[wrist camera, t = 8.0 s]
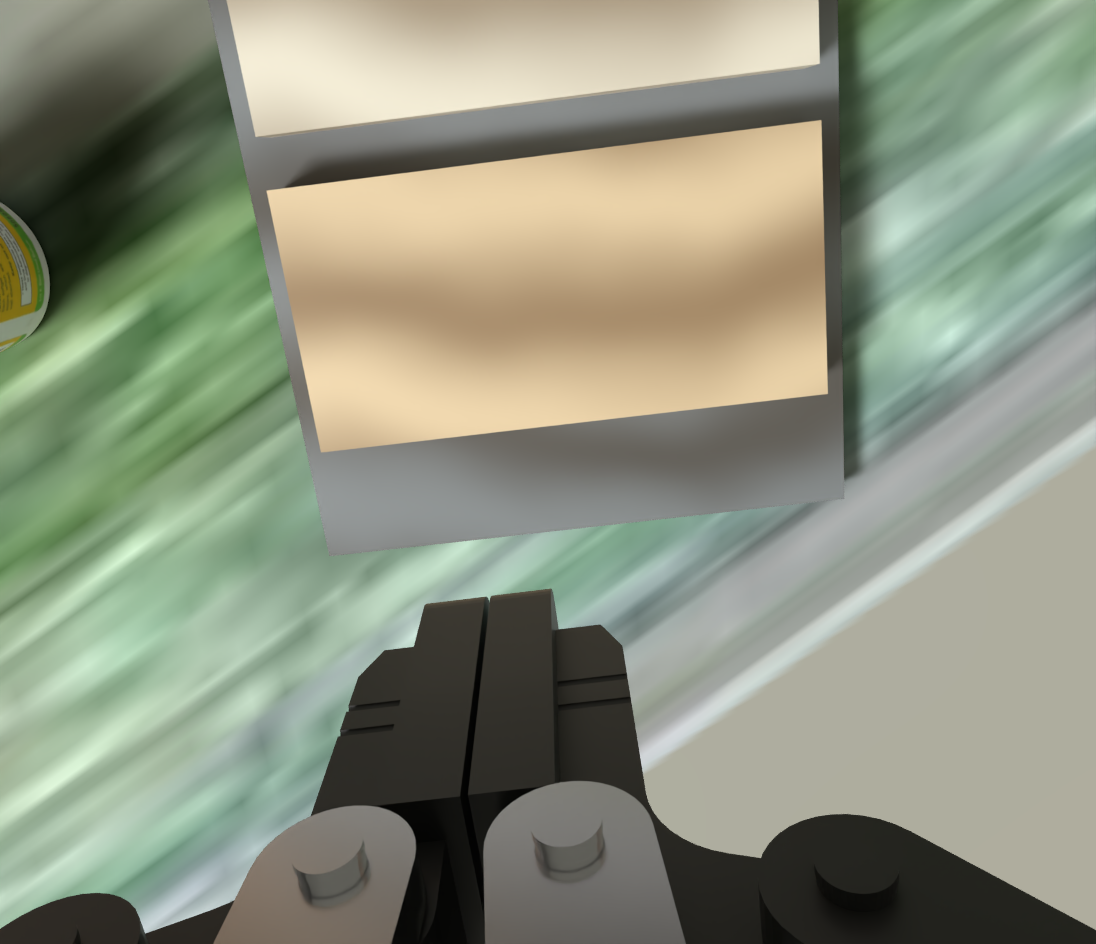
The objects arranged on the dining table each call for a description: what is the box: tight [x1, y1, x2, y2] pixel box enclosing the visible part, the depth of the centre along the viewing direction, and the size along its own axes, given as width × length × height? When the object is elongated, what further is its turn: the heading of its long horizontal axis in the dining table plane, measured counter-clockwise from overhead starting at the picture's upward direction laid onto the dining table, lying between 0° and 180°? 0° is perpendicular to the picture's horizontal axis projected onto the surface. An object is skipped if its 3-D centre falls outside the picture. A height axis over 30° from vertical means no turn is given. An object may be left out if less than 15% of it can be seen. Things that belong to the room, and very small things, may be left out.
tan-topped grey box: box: [208, 0, 844, 556], centre depth 28 cm, size 22×18×3 cm
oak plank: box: [267, 120, 828, 452], centre depth 28 cm, size 8×16×2 cm, turn 97°
